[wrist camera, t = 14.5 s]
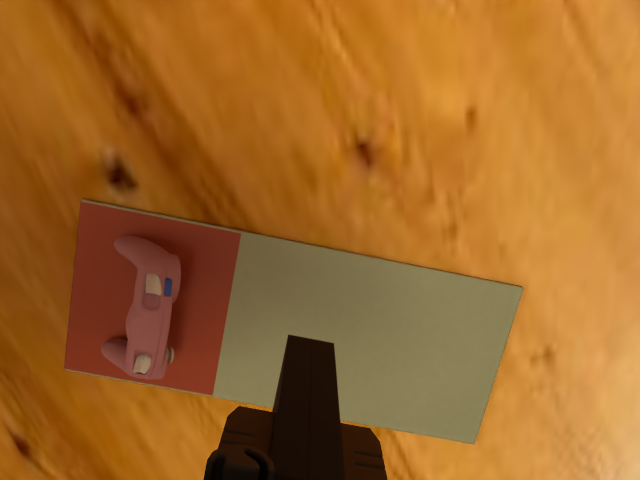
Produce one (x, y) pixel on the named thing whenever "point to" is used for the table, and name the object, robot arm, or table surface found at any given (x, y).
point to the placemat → (297, 321)
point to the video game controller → (147, 310)
